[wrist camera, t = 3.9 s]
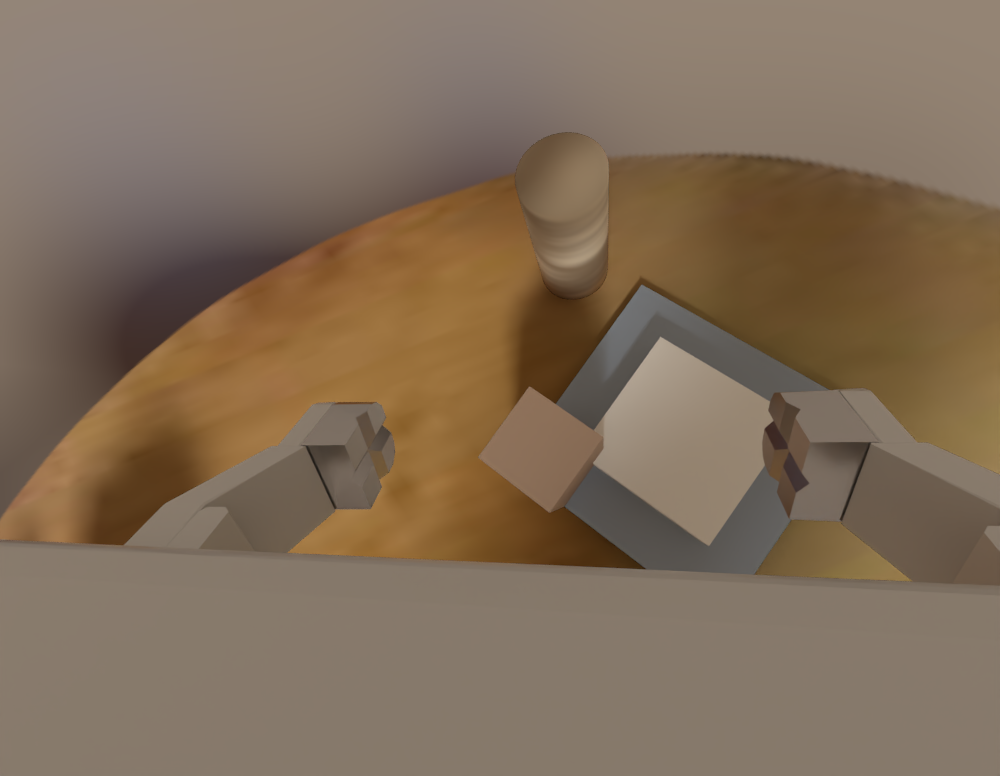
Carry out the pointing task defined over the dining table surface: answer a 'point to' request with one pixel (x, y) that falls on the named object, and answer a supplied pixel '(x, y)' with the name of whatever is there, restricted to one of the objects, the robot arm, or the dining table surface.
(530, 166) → the birch column
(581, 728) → the robot arm
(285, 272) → the dining table surface
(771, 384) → the build base
